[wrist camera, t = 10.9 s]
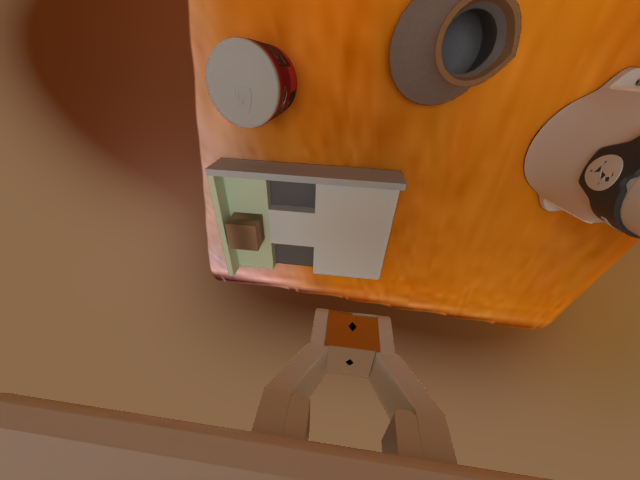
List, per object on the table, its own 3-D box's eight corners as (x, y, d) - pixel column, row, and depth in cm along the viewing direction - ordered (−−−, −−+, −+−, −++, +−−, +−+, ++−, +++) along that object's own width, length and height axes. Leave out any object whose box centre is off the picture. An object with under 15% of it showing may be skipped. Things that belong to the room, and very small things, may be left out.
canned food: (256, 119, 38) (226, 136, 29) (233, 55, 33) (189, 51, 24) (305, 105, 36) (289, 118, 27) (287, 36, 32) (261, 24, 23)
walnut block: (262, 214, 44) (255, 226, 41) (264, 238, 47) (258, 251, 43) (234, 211, 44) (224, 223, 41) (238, 235, 47) (229, 248, 44)
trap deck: (400, 170, 40) (406, 184, 35) (377, 271, 52) (380, 291, 47) (221, 157, 42) (205, 168, 37) (239, 258, 53) (228, 275, 49)
